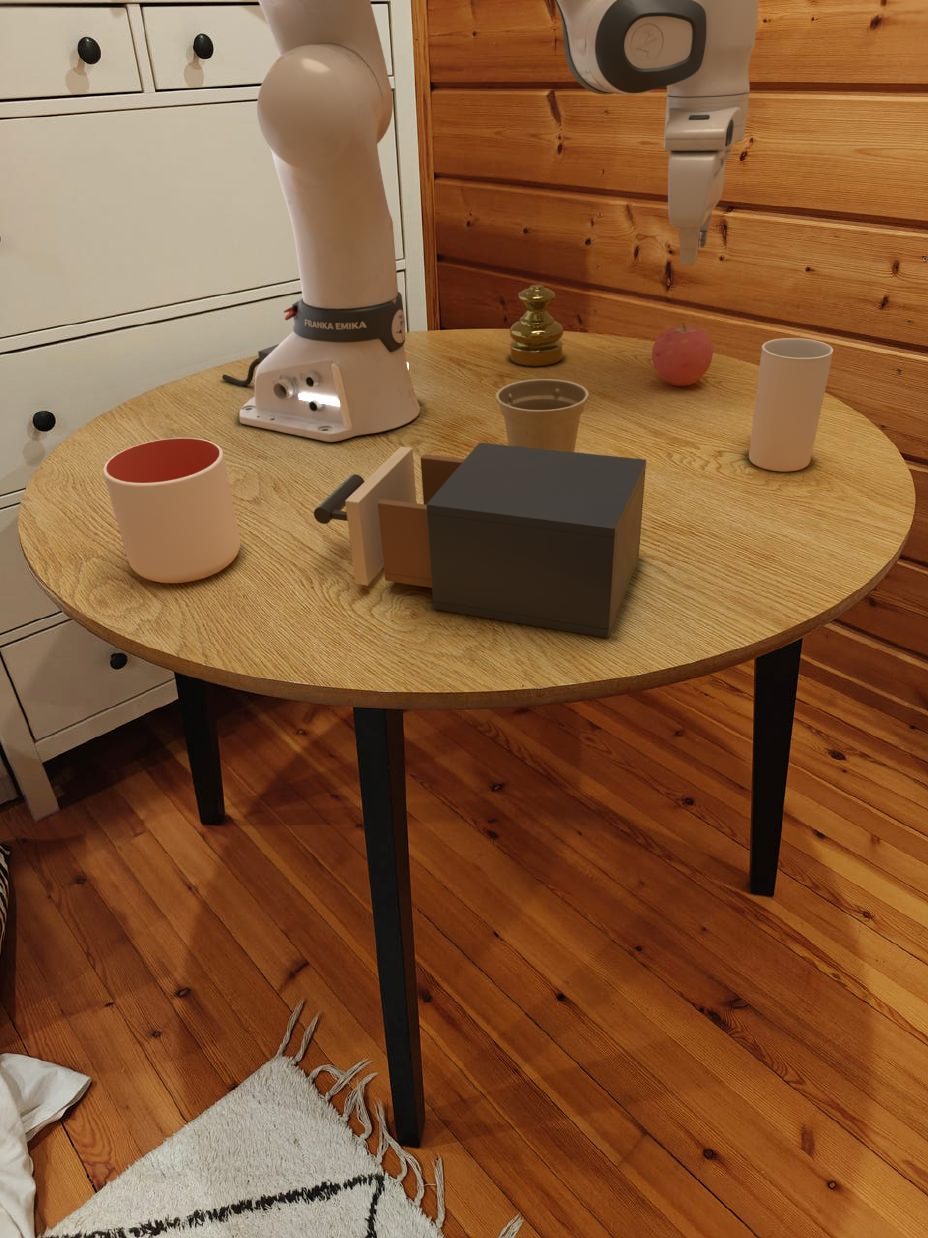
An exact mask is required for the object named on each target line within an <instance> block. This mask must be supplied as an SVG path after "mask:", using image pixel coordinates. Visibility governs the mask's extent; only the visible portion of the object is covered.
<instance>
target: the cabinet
mask: <svg viewBox="0 0 928 1238" xmlns="http://www.w3.org/2000/svg"><path fill="white" fill-rule="evenodd" d="M464 459H465V460H464V461H463V462H462V463H461V465H460V466H459V467H458V468H457V469H456V471H455V472H454V473H453V474H452V475H451V476H450V478H449V479H448V480H447V481H446V482H445V483H444V485H443V486H442V487H441V488H440V489H439V490H438V492H437V493H436V494H435V495H434V496H433V497H432V499H431V500H430V501H429V502H428V503H427V505H426V506H427V518H428V533H429V548H430V563H431V578H432V588H431V590H432V591H431V592H432V606H433V610H436V611H441V612H448V613H454V614H459V615H464V616H465V615H466V616H472V617H476V618H477V617H478V618H483V619H484V618H485V619H491V620H497V621H502V622H509V623H513V624H520V625H521V624H522V625H527V626H532V627H539V628H543V629H545V628H546V629H551V630H557V631H562V632H563V631H564V632H569V633H574V634H582V635H587V636H588V635H589V636H594V637H599V638H600V637H601V638H606V639H608V638H610V634H611V632H612V630H613V627H614V625H615V622H616V620H617V617H618V614H619V612H620V609H621V607H622V604H623V601H624V599H625V596H626V593H627V591H628V588H629V586H630V583H631V581H632V578H633V576H634V573H635V570H636V568H637V565H638V562H639V560H640V559H639V558H640V546H641V545H640V544H641V532H642V521H643V520H642V519H643V507H644V495H645V494H644V493H645V482H646V470H647V459H644V458H636V457H634V458H633V457H625V456H616V455H614V456H613V455H605V454H595V453H586V452H575V451H574V452H567V451H557V450H547V449H538V448H528V447H518V446H509V444H496V443H490V442H489V443H488V442H478V443H477V445H476V446H475V447H474V448H473V449H472V451H471V452H470V453H469V454H468V455H467V456H466V457H465V458H464Z"/></svg>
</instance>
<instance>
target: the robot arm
mask: <svg viewBox="0 0 928 1238" xmlns="http://www.w3.org/2000/svg"><path fill="white" fill-rule="evenodd" d="M257 1H258V4H259V6H260V8H261V10H262V13H263V15H264V18H265V21H266V24H267V27H268V29H269V31H270V35H271V37H272V39H273V43H274V45H275V48H276V51H277V53H278V58H277V59H276V60H275V62H274V63H273V64H272V65H271V67H270V68H269V70H268V71H267V73H266V75H265V76H264V79H263V81H262V82H261V85H260V88H259V91H258V95H257V102H256V103H257V104H256V111H257V121H258V124H259V128H260V132H261V133H262V136H263V138H264V140H265V142H266V144H267V145H268V147H269V149H270V151H271V155H272V159H273V163H274V166H275V171H276V174H277V177H278V178H277V179H278V181H279V185H280V189H281V191H282V195H283V198H284V200H285V205H286V207H287V211H288V215H289V218H290V222H291V223H290V224H291V228H292V233H293V238H294V245H295V251H296V252H295V253H296V259H297V265H298V274H299V279H300V288H301V296H302V298H300V299H298V300H297V301H295V302H294V303H293V304H291V306H290V307H289V308H286V309H285V310H284V311H283V313H284V314H285V313H287V314H286V316H285V317H284V320H285V321H288V320H290V319H292V318H293V322H294V323H293V328H292V332H291V333H290V334H289V335H288V336H287V337H285V339H284V340H282V341H281V342H280V343H278V344H275V345H273V346H269V347H267V348H264V349H261V350H258V351H257V353H258V357H257V358H255V359H254V360H253V361H252V362H251V363H250V365H249V367H248V372H247V375H246V376H247V377H246V379H244V380H240V379H237V378H235V377H232V376H230V375H228V374H222V376H221V378H222V380H224V381H226V382H229V383H231V384H233V385H235V386H239V387H247V386H249V385H250V384H251V383H252V381H253V378H254V396H253V397H251V398H250V399H248V401H246V403H244V404H243V405H242V407H241V408H240V410H239V413H238V415H239V422H240V424H243V425H247V426H251V427H256V428H261V429H266V430H269V431H274V432H275V431H276V432H279V433H283V434H290V435H294V436H299V437H303V438H309V439H311V440H312V439H313V440H317V441H322V442H326V443H327V442H328V443H334V442H335V443H336V442H339V441H343V440H344V441H345V440H347V439H351V438H353V437H358V436H362V435H363V436H364V435H371V434H376V433H383V432H386V431H390V430H394V429H397V428H399V427H402V426H404V425H407V424H409V423H410V422H412V421H413V420H415V419H416V418H417V417H418V416H419V415H420V413H421V407H420V404H419V401H418V398H417V396H416V393H415V389H414V386H413V383H412V378H411V376H410V375H411V374H410V371H409V368H410V367H409V362H408V361H407V356H406V350H405V343H406V318H405V313H404V304H403V303H404V302H403V295H402V294H401V292H399V287H398V272H397V260H396V247H395V234H394V222H393V217H392V215H391V212H390V208H389V205H388V200H387V195H386V189H385V186H384V180H383V175H382V169H381V163H380V156H379V149H378V144H380V142H381V141H382V139H383V138H384V137H385V135H386V133H387V131H388V129H389V127H390V125H391V121H392V118H393V109H394V97H393V90H392V86H391V82H390V77H389V73H388V69H387V64H386V60H385V55H384V51H383V47H382V42H381V38H380V34H379V30H378V26H377V21H376V18H375V14H374V11H373V6H372V2H371V0H257ZM554 1H555V4H556V7H557V10H558V12H559V16H560V21H561V26H562V27H561V29H562V36H563V37H562V38H563V48H564V54H565V55H564V56H565V59H566V63H567V66H568V68H569V71H570V73H571V75H572V76H573V78H574V80H575V81H576V82H577V83H578V84H579V85H580V86H582V87H583V88H584V89H586V90H587V91H589V92H591V93H593V94H598V95H605V96H607V95H613V94H615V95H622V96H623V95H624V96H641V95H643V94H647V93H649V92H651V91H654V90H657V89H662V88H664V87H666V90H667V91H666V100H665V101H666V103H665V117H664V118H665V119H664V131H663V150H664V151H665V152H669V155H668V162H667V163H668V167H667V168H668V169H667V208H668V209H667V211H668V221H669V225H670V227H671V228H673V229H679V230H678V239H679V264H680V265H682V266H693V265H694V264H695V263H696V262H697V259H698V249H699V248H704V247H705V246H706V245H707V243H708V236H709V229H710V225H711V221H712V216H713V211H714V210H715V208H716V206H717V205H718V204H719V202H720V200H721V199H722V197H723V192H724V185H725V174H726V164H727V162H726V161H727V159H730V158H731V157H732V148H733V145H734V144H736V143H741V142H743V141H744V140H745V137H746V128H747V118H748V109H749V108H748V107H749V99H750V90H751V86H750V85H751V84H750V79H749V66H750V65H749V64H750V62H751V61H750V60H751V57H752V54H753V52H754V48H755V46H756V45H755V44H756V37H757V27H758V26H757V25H758V13H759V0H554ZM255 369H256V371H255Z"/></svg>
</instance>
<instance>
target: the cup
mask: <svg viewBox="0 0 928 1238" xmlns="http://www.w3.org/2000/svg"><path fill="white" fill-rule="evenodd" d="M102 473H103V477H104V480H105V484H106V487H107V488H106V489H107V492H108V494H109V498H110V501H111V507H112V510H113V512H114V516H115V519H116V523H117V528H118V530H119V534H120V537H121V541H122V544H123V548H124V551H125V555H126V560H127V562H128V564H129V566H130V568H131V569H132V570H133V571H134V572H135V574H137V575H139V576H140V577H141V578H144V579H146V580H149V581H152V582H156V583H161V584H182V583H189V582H190V583H191V582H194V581H199V580H202V579H206V578H208V577H210V576H214V575H215V574H217V573H219V572H220V571H223V570H224V569H225V568H227V567H228V566H230V564H231V563H232V562H233V561H234V560H235V558H237V556H238V554H239V551H240V548H241V535H240V530H239V526H238V520H237V514H236V509H235V504H234V499H233V494H232V489H231V485H230V479H229V474H228V470H227V464H226V459H225V454H224V450H223V449H222V447H221V446H219V444H217V443H215V442H213V441H209V440H207V439H202V438H197V437H171V438H163V439H157V440H151V441H147V442H143V443H140V444H137V445H134V446H131V447H128V448H125V449H124V450H121V451H120V452H118V453H116V454H115V455H113V456H112V457H110V458H109V459H108V460H107V461H106V463H105V464H104V466H103V470H102Z"/></svg>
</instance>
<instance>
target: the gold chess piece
mask: <svg viewBox="0 0 928 1238" xmlns="http://www.w3.org/2000/svg"><path fill="white" fill-rule="evenodd" d="M555 298H556V293H555V292H554V291H552V290H551V289H549V288H547V287H545V286H544V285H542V284H532V285H530V286H529V287H528V288H525V289H523V290H522V291H520V292H519V293H518V299H519V300H520V301H521V302H522V303H523V304H524V305H525V307H526V311H525V313H524V314H523V315H522V316H520V318H519V320H518V321H515V323H513V324H512V325H511V326H510V329H509V336H510V338H511V340H512V341H511V342H510V343H509V347H510V360H511V361H512V362H513V363H516V364H517V365H520V366H527V367H545V366H551V365H553V364H556V363H559V362H560V361H561V360H562V359H563V346H564V343H563V341H562V340H560V339H561V338H562V337H563V335H564V327H563V325H562V324H561V323H559V321H556V320H554V317H553V316H551V315H550V313H549V312H548V310H547V307H548V305H549V304H550V303H551V302H552V301H553V300H554V299H555Z"/></svg>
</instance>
